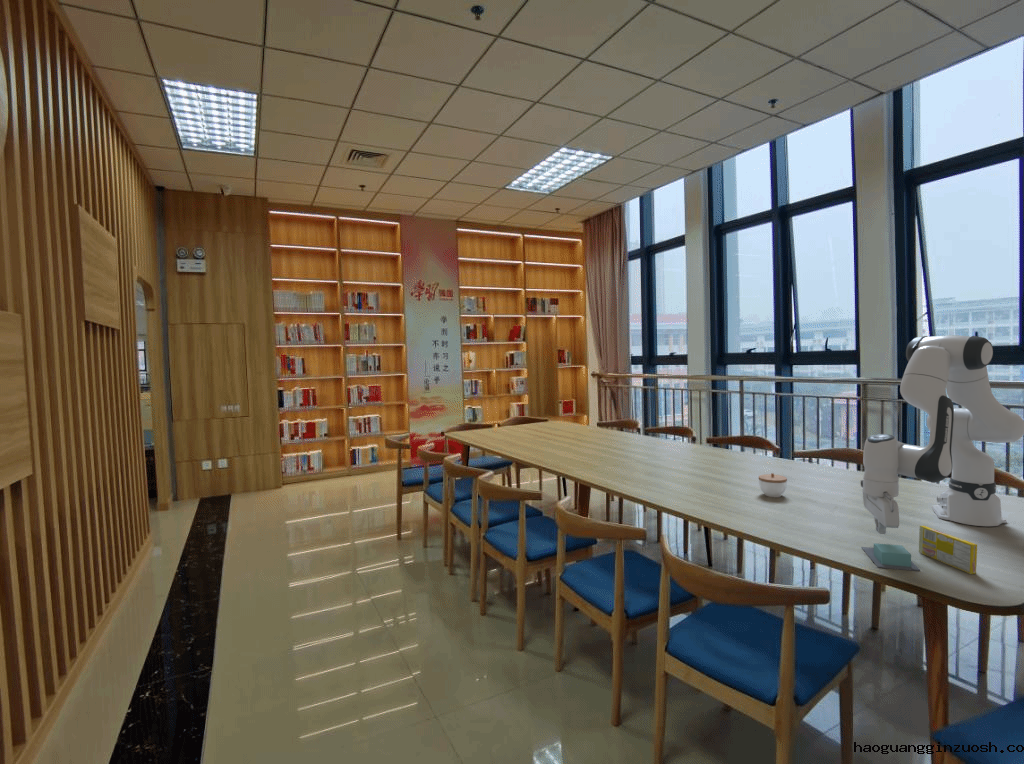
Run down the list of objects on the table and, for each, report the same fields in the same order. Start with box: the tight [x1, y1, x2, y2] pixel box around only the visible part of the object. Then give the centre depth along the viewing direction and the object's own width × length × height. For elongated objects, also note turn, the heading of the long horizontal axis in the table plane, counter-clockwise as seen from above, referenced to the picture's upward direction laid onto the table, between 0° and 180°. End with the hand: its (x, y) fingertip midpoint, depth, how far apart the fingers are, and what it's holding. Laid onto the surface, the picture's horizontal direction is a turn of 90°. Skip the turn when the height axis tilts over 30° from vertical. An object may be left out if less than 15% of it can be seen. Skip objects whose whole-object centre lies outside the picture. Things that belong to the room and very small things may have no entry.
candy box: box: [918, 525, 978, 575], centre depth 149 cm, size 16×2×8 cm, turn 6°
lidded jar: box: [758, 472, 788, 498], centre depth 220 cm, size 11×11×9 cm
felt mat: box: [861, 546, 921, 572], centre depth 152 cm, size 15×10×1 cm, turn 161°
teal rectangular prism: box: [873, 543, 912, 567], centre depth 150 cm, size 4×7×7 cm
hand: (880, 532), depth 160 cm, fingers closed
